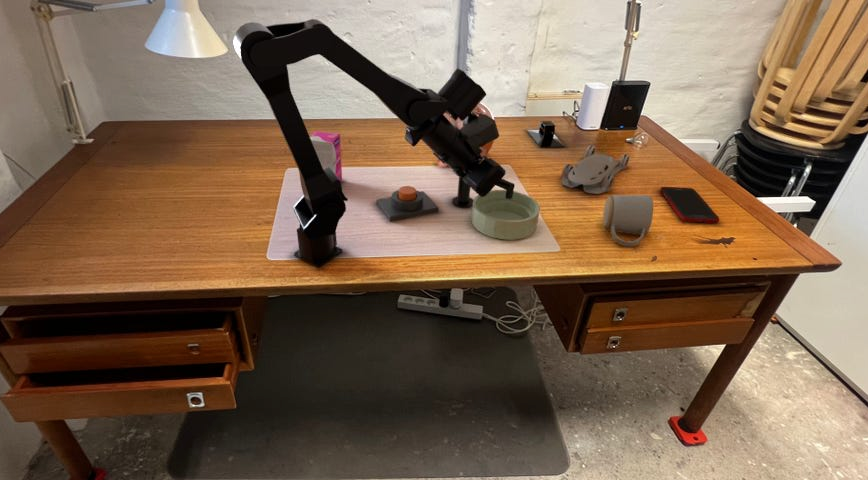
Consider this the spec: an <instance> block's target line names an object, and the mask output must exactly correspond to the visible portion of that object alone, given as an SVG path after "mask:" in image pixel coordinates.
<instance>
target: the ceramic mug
mask: <svg viewBox="0 0 868 480" xmlns="http://www.w3.org/2000/svg"><path fill="white" fill-rule="evenodd" d="M602 212H603V213H602V225H603V228H604V229H605V230H607V231H610V235H611V237H612V240H613V241H614V242H615V243H616V244H618V245H620V246H623V247H629V248H631V247H634V246H635V247H636V246H637V245H638V244H639V243H640V242H642V240H643V238H644V236H646V235H647V234H648V233H649V231H650V229H651V226H652V222H653V218H654V217H653V216H654V201H653V197H652V196H651V195H635V194H634V195H633V194H632V195H631V194H613V195H609V196H608V197H607V198H606V200H605V203H604V206H603V211H602ZM617 233H626V234H630V235H631V234H632V235H640V236H639V237H638V238H637V239H635V240H631V241H629V240H624V239H622V238H620V237H619V236H618V235H617Z"/></svg>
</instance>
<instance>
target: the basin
mask: <svg viewBox="0 0 868 480" xmlns="http://www.w3.org/2000/svg"><path fill="white" fill-rule="evenodd" d="M505 196H506V190H505V189H492V190H491V191H490V192H489V193H488V194H487V195H486V196H485V197H481V196H479V195H478V194H477V195H475V197H474V198H473V200H474V201H473V206H472V207H471V216H470V220H471V225H472V226H473V227H474V229H476V230H477V231H478V232H480V233H481V234H483V235H485V236H488V237H491V238H494V239H500V240H510V241H511V240H515V241H516V240H519V239H524V238H527V237H529V236H531V235H533V234H534V232H536V230H537V226H538V221H539V216H540V211H541V207H540V205H539V202H537V201H536V200H535V199H534V197H532V196H529V195H527V194H525V193H522V192H519V191H515V190H514V191H513V198H512V199H507V198H506V197H505Z"/></svg>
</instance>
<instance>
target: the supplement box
mask: <svg viewBox="0 0 868 480" xmlns="http://www.w3.org/2000/svg"><path fill="white" fill-rule="evenodd" d="M310 139H311V141H312V144H313V146H314V148H315V151H316V153H317V156H318V158H319V160H320V163H321V165H322V168H323V170H325V169H326V168H328V167H329V166H330V167H331V168H332V170H333V171H334V173H335V174H336V176H337V177H338V178H339V180H340V183H342V181H343V169H342V167H343V165H342V146H341V145H342V144H341V141H342V140H341V134H340V133H336V132H335V133H334V132H326V131H318V130H316V131H315V132H314V133H313V134H312V135H311V136H310Z"/></svg>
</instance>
